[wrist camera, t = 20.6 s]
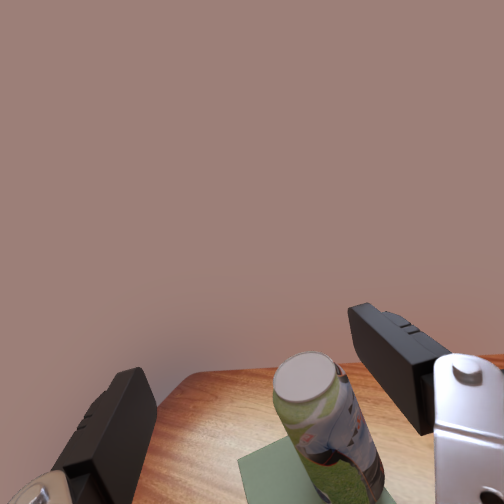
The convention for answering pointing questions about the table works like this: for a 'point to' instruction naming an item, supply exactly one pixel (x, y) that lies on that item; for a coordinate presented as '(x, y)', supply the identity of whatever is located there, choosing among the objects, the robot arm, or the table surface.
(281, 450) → the green open cubby
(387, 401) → the table surface
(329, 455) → the beverage can
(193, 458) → the table surface
